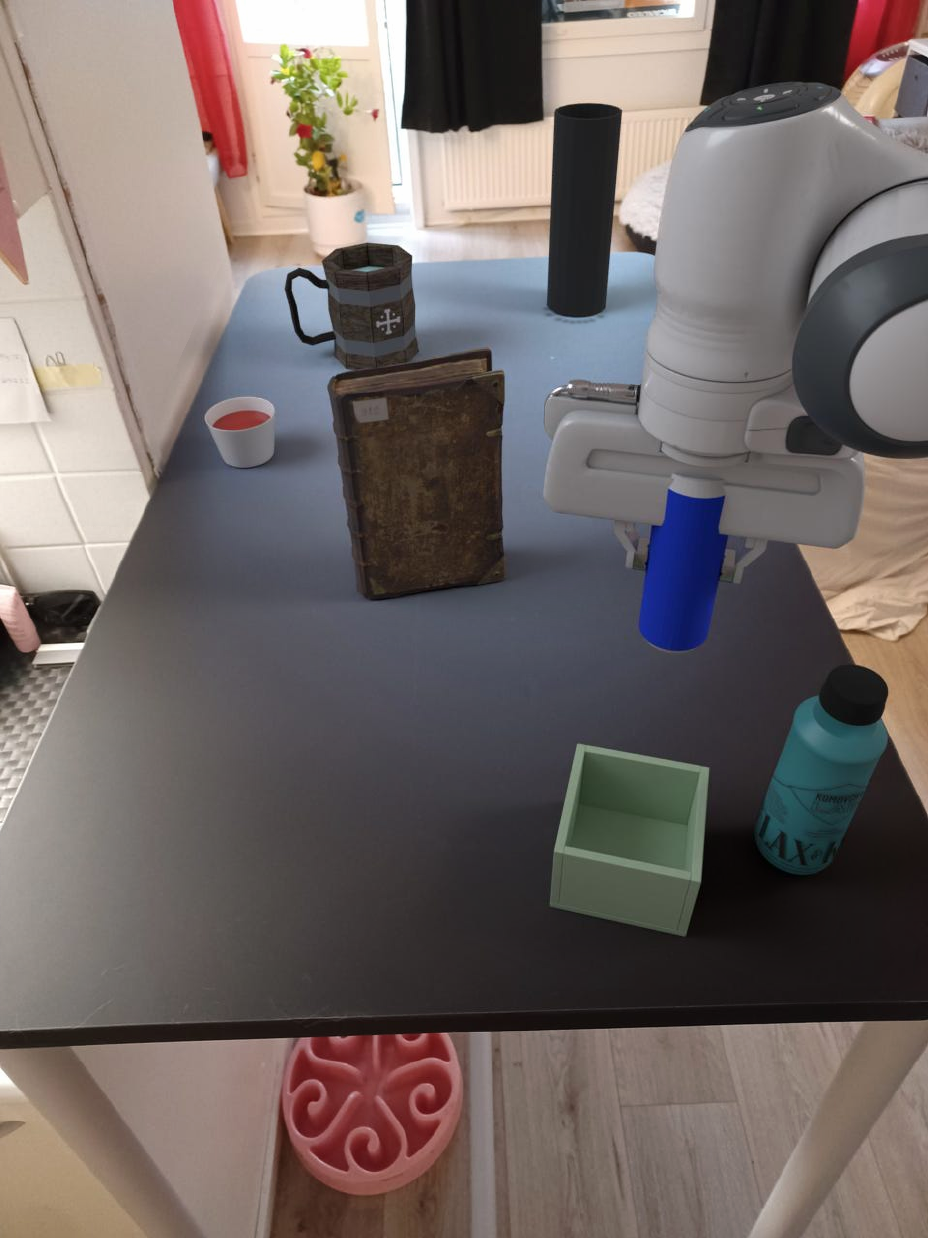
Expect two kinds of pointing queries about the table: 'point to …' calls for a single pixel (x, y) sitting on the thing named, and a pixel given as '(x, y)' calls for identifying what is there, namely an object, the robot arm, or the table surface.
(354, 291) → the mug
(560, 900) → the bin
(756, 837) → the beverage bottle
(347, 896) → the table surface
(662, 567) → the beverage can
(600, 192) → the vase
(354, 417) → the book
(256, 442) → the white cup
